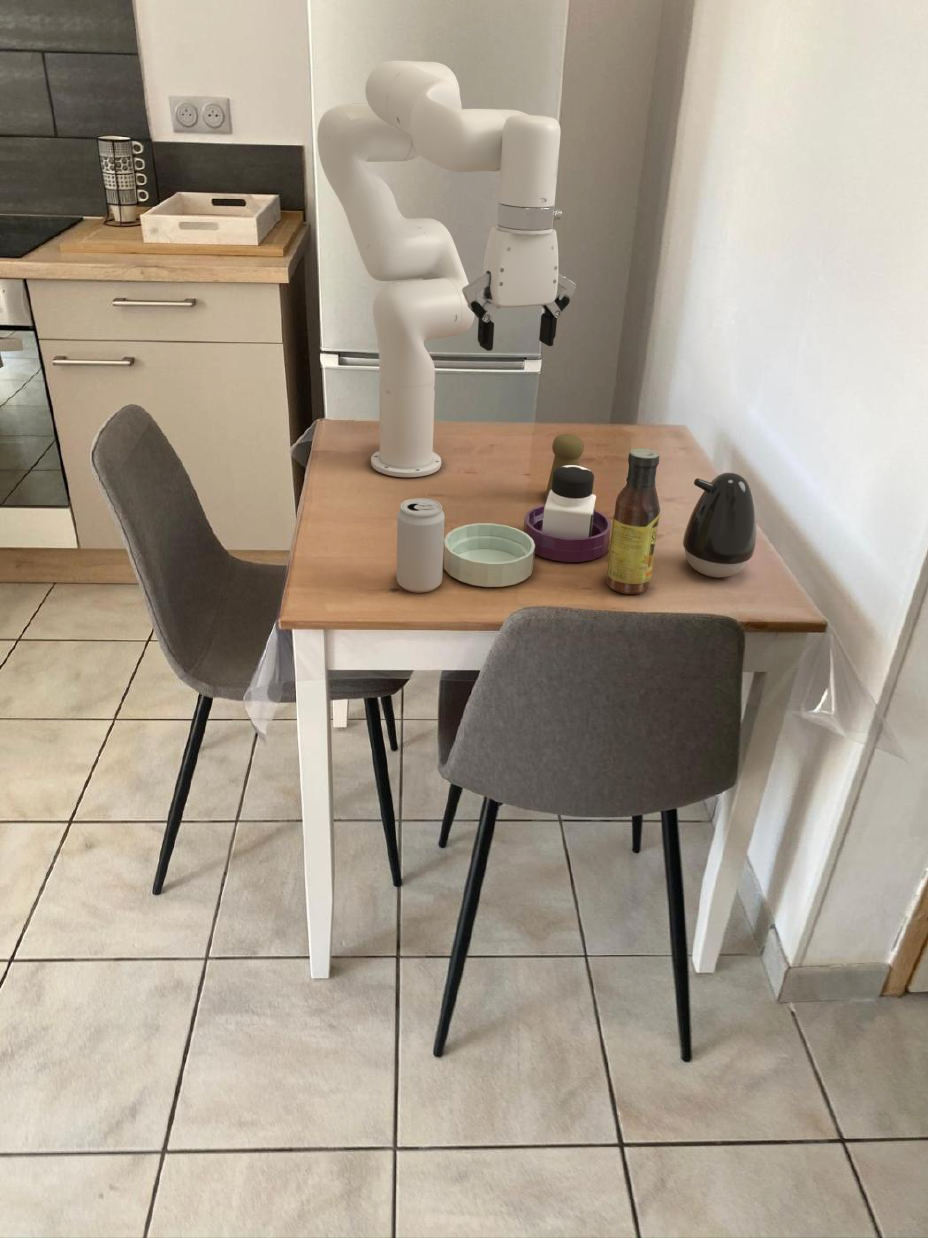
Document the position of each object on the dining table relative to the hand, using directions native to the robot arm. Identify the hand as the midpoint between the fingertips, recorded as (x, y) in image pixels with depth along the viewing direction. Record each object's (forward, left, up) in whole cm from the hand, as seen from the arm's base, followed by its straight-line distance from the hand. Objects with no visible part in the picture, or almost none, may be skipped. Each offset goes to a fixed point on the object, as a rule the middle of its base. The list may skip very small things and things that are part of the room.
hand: (516, 345), depth 138 cm
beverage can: (+14, -20, -28) cm, 38 cm away
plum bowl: (+10, +6, -28) cm, 30 cm away
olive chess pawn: (-6, +14, -28) cm, 32 cm away
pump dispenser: (+24, +23, -28) cm, 44 cm away
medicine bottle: (+10, +6, -28) cm, 30 cm away
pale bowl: (+12, -8, -28) cm, 32 cm away
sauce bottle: (+24, +8, -28) cm, 38 cm away
